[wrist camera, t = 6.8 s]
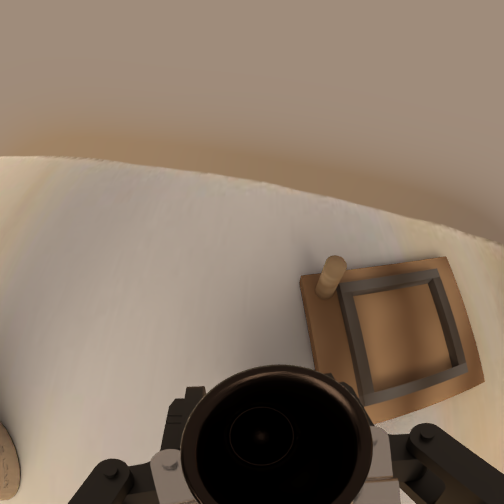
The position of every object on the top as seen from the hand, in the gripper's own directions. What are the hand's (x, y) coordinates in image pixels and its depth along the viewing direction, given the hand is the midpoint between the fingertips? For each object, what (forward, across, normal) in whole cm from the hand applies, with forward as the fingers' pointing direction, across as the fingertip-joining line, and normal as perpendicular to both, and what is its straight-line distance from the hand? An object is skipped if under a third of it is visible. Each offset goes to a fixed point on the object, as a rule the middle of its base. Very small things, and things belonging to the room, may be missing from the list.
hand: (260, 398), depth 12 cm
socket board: (+8, -12, +4) cm, 15 cm away
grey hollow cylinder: (+2, 0, +4) cm, 5 cm away
